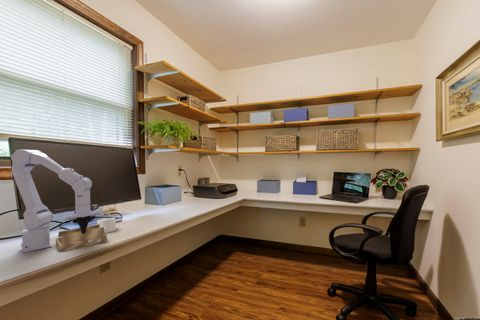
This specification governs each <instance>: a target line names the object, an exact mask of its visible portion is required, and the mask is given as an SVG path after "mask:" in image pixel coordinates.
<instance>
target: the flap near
mask: <svg viewBox="0 0 480 320" xmlns="http://www.w3.org/2000/svg"><path fill="white" fill-rule="evenodd" d="M102 235H105V232H104V227H100V228H95V229H89V230H86V233H84V234H82V231H79V232H73V233H68V234H63V235H61V244H67V243H71V242H75V241H78V240H83V239H88V238H93V237H97V236H102Z"/></svg>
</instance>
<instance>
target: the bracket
mask: <svg viewBox="0 0 480 320" xmlns="http://www.w3.org/2000/svg"><path fill="white" fill-rule="evenodd" d="M116 223H117V221H116V217H109V218H104V219H99V220H97V225H98V224H100V227H104V232H105V233H106V234H109V233H111V232H115V231H116V230H117V224H116ZM100 227H99V228H100Z"/></svg>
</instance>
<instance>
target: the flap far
mask: <svg viewBox="0 0 480 320" xmlns="http://www.w3.org/2000/svg"><path fill="white" fill-rule="evenodd" d="M99 227H100V224H98V223H97V224H93V225H88V226H87V229H86V230H89V229H95V228H99ZM79 231H81V229H80V227H77V228H72V229H71V228H70V229H66V230H60V231H58V235H57V236H58V237H57V238H59V237H61V235H63V234H68V233H73V232H79Z"/></svg>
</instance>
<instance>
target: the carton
mask: <svg viewBox="0 0 480 320" xmlns="http://www.w3.org/2000/svg"><path fill="white" fill-rule="evenodd" d="M107 239H108V233H105V235H102V236H97V237H93V238H88V239H83V240H78V241H74V242H69V243H64V244H61V237H55V246H56V249H57V251H58V252H65V251H69V250H73V249H79V248H84V247H87V246H88V247H89V246H93V245H97V244H102V243H106V242H107V241H108V240H107Z"/></svg>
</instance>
